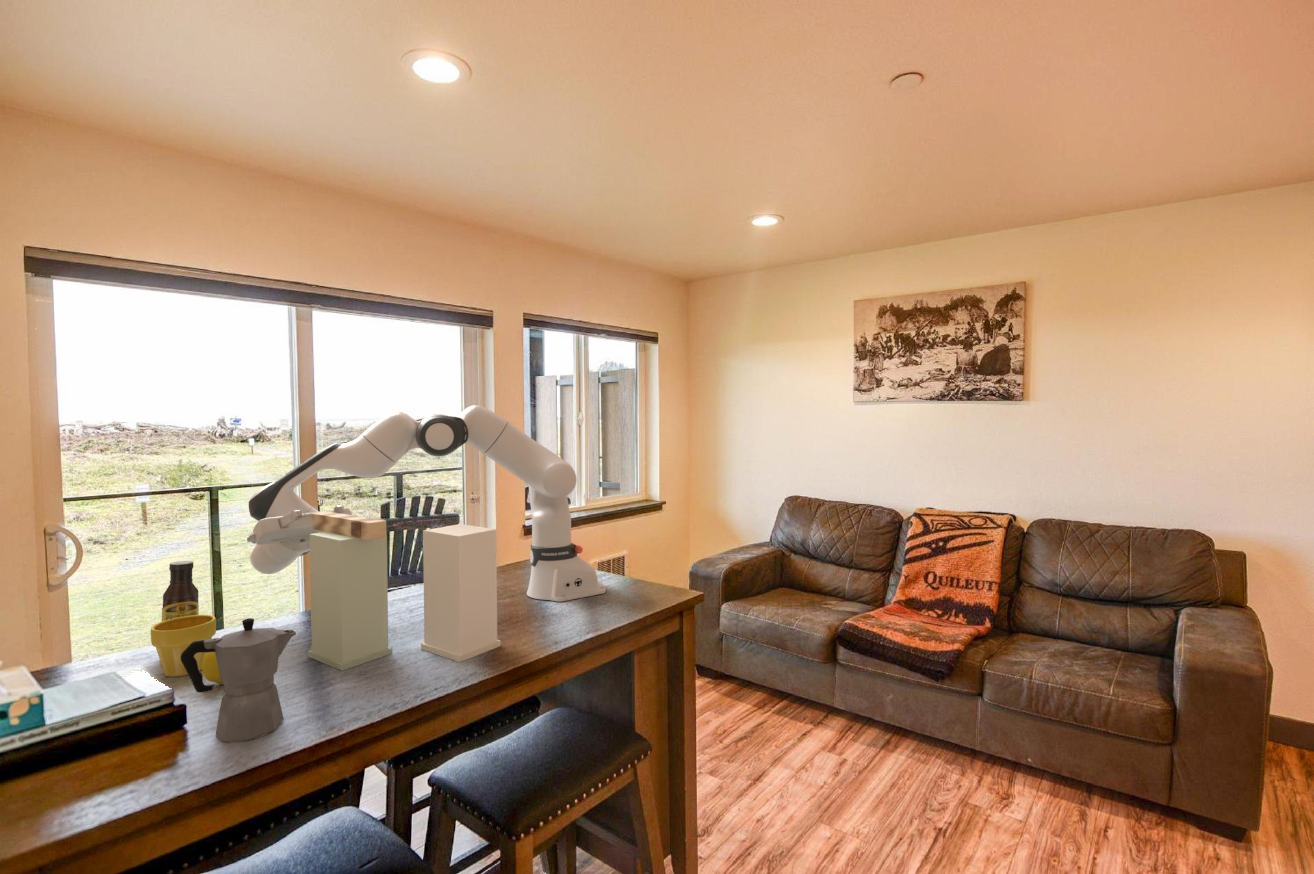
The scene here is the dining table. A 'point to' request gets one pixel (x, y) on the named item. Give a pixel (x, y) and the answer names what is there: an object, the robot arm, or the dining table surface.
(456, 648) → the white pedestal
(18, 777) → the dining table surface
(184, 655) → the coffeepot
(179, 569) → the sauce bottle
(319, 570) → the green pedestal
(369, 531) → the beech block
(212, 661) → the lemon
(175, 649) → the plant pot
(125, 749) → the dining table surface
